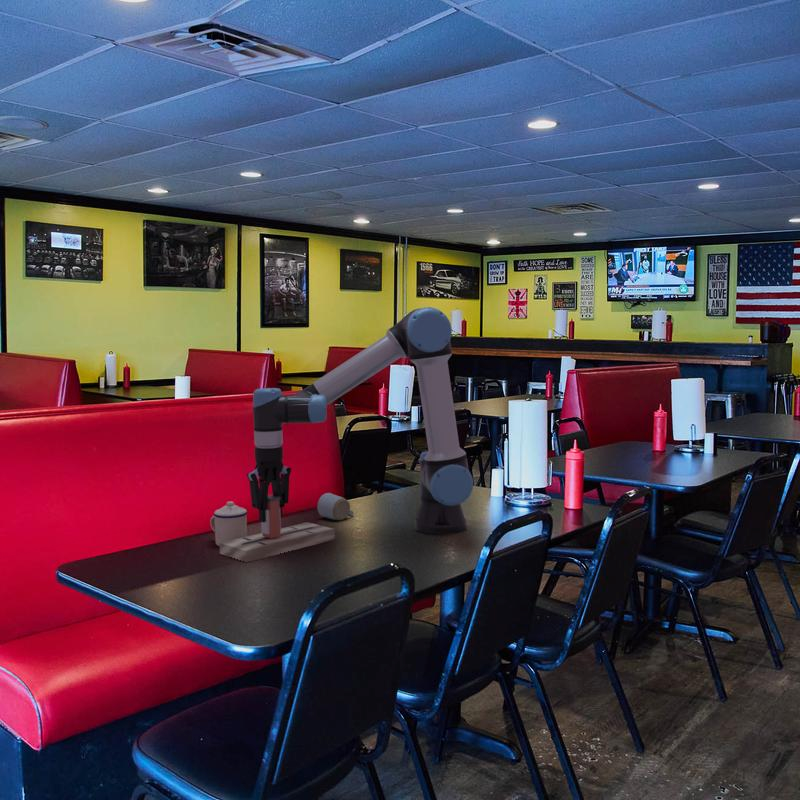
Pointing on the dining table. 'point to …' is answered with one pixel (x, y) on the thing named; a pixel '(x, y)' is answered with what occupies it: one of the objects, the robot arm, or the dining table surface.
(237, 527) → the teacup with lid
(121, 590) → the dining table surface
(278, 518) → the fader tab
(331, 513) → the ceramic mug
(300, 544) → the panel
